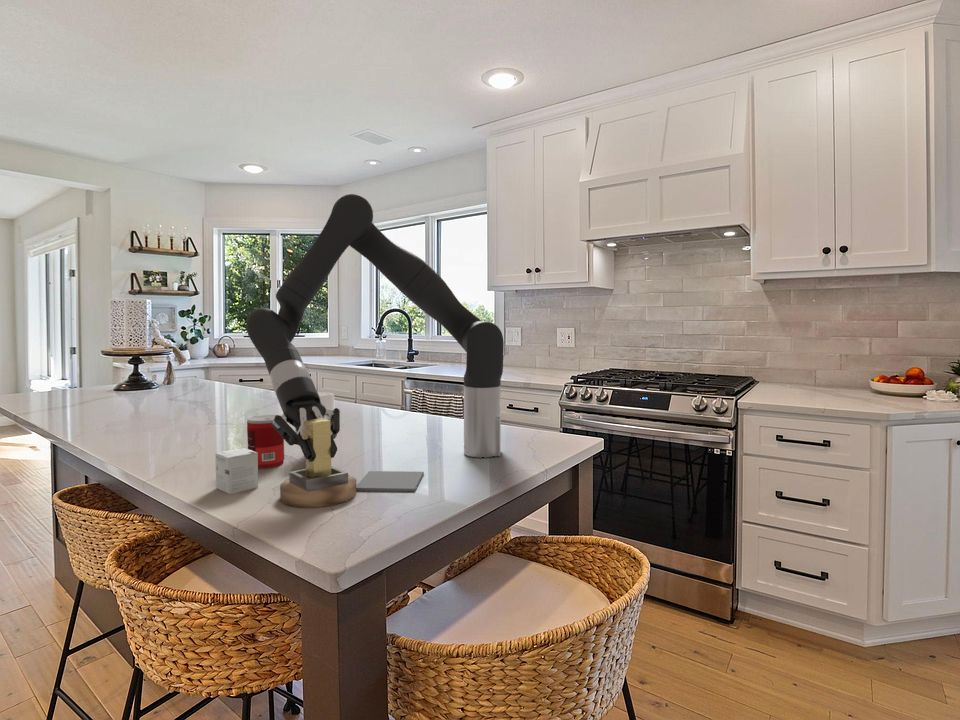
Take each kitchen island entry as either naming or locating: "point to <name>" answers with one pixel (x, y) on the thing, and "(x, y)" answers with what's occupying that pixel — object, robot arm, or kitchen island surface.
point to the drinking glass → (327, 400)
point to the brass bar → (319, 448)
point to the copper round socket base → (317, 489)
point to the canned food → (265, 441)
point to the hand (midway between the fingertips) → (323, 457)
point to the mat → (389, 481)
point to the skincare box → (236, 470)
